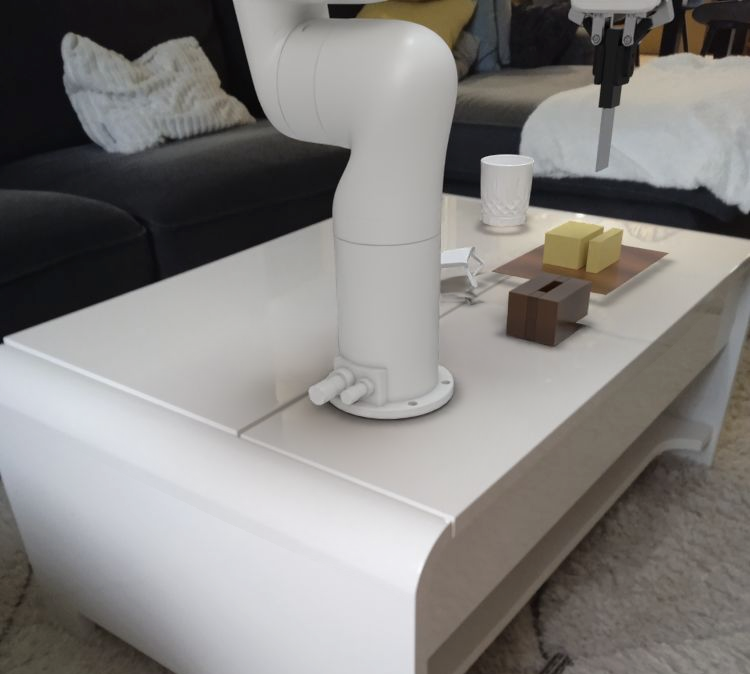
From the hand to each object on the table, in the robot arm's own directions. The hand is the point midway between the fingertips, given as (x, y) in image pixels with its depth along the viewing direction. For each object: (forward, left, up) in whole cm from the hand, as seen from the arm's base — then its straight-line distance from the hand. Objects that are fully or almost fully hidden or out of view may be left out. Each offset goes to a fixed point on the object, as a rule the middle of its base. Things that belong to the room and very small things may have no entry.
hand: (611, 82), depth 95 cm
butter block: (+2, +4, -22) cm, 22 cm away
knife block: (-19, -4, -23) cm, 30 cm away
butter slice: (+2, -1, -22) cm, 22 cm away
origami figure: (-15, +11, -23) cm, 30 cm away
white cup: (+14, +21, -23) cm, 35 cm away
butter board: (+2, +2, -23) cm, 23 cm away
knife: (0, 0, -10) cm, 10 cm away
